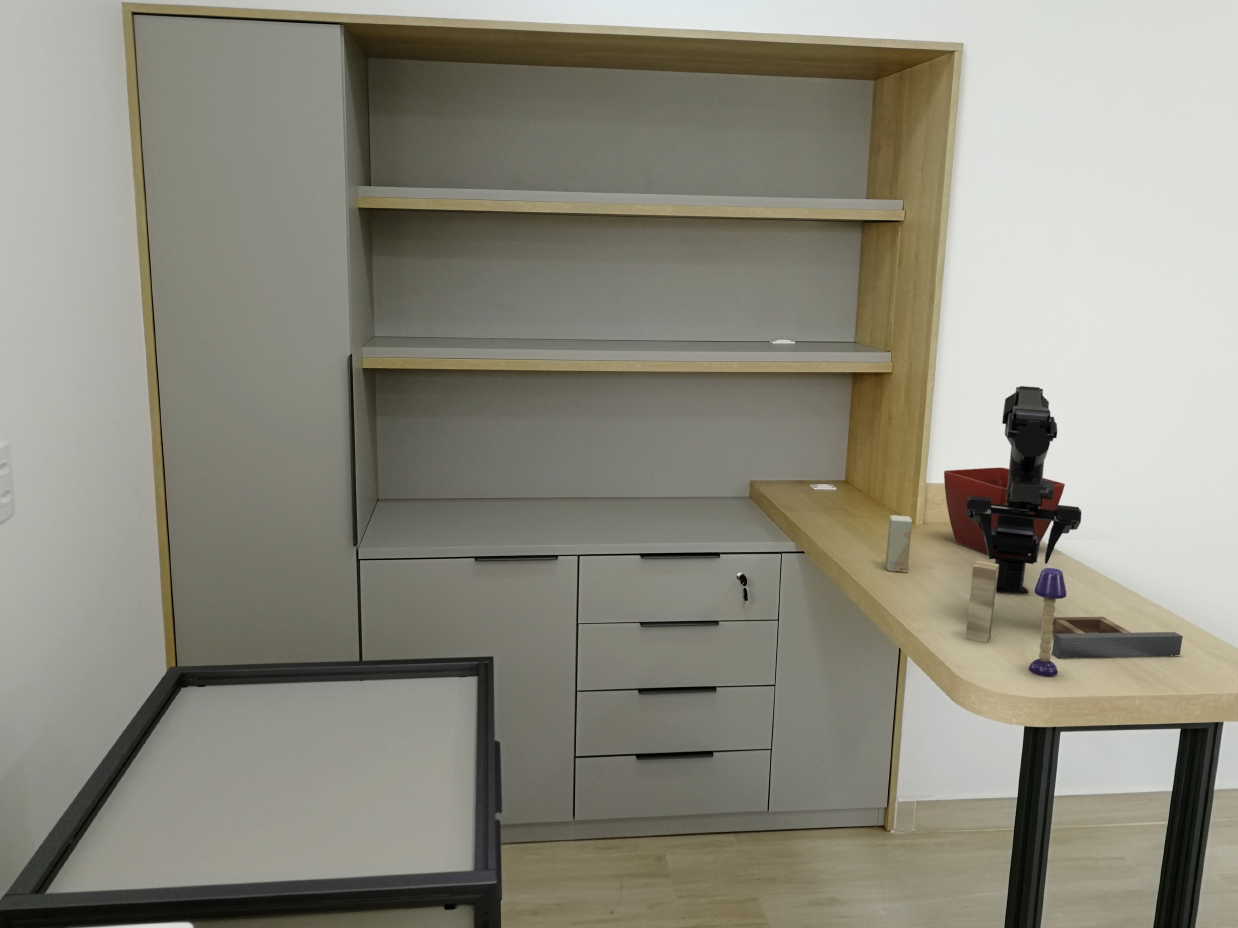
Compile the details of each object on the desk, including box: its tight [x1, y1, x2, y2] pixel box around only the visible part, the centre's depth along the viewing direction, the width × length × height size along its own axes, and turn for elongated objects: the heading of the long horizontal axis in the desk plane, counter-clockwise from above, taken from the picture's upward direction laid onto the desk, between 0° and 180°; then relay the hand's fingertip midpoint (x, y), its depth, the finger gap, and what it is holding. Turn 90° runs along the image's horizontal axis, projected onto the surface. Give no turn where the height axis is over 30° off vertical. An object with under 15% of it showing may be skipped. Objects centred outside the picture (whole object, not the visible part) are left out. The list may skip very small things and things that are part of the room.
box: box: [885, 514, 913, 573], centre depth 216 cm, size 5×4×11 cm
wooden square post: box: [964, 560, 999, 644], centre depth 176 cm, size 4×4×13 cm
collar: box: [1051, 616, 1132, 634], centre depth 178 cm, size 10×10×2 cm
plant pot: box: [943, 467, 1066, 555], centre depth 235 cm, size 19×19×17 cm
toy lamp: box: [1028, 567, 1067, 677], centre depth 162 cm, size 5×5×17 cm
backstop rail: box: [1051, 631, 1183, 659], centre depth 171 cm, size 2×22×4 cm, turn 98°
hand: (1017, 559), depth 180 cm, fingers open, 9 cm apart
